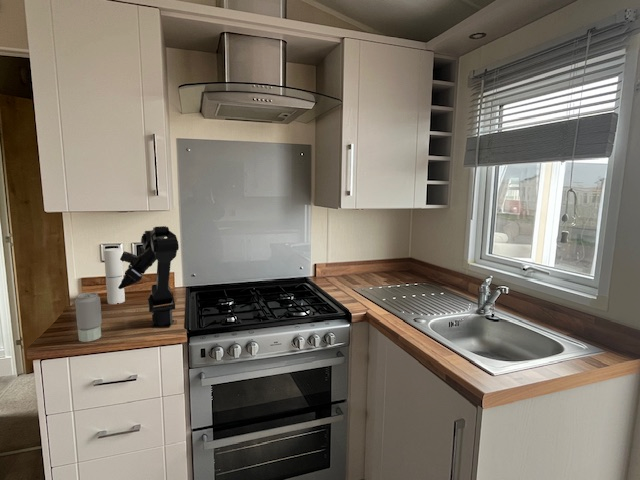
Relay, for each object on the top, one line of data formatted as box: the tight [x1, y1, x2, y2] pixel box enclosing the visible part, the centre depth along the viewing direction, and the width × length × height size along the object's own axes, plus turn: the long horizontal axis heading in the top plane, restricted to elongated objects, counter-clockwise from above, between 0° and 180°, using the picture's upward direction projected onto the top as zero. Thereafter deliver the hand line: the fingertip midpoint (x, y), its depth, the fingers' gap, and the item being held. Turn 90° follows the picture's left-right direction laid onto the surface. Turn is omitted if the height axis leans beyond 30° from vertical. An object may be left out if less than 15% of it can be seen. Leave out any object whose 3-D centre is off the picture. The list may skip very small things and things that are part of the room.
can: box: [74, 292, 103, 330], centre depth 129 cm, size 8×8×12 cm
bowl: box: [77, 325, 102, 343], centre depth 130 cm, size 7×7×4 cm
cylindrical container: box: [103, 247, 126, 305], centre depth 169 cm, size 7×7×25 cm
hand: (120, 285), depth 149 cm, fingers open, 9 cm apart
